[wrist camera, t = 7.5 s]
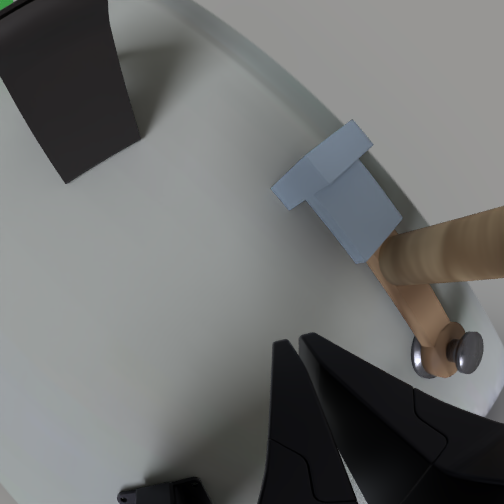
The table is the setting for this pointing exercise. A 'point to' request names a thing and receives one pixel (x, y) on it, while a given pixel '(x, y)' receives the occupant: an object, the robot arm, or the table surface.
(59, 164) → the phone stand
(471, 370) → the pin stand
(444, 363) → the swing link
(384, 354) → the table surface
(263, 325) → the table surface
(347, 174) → the bracket
